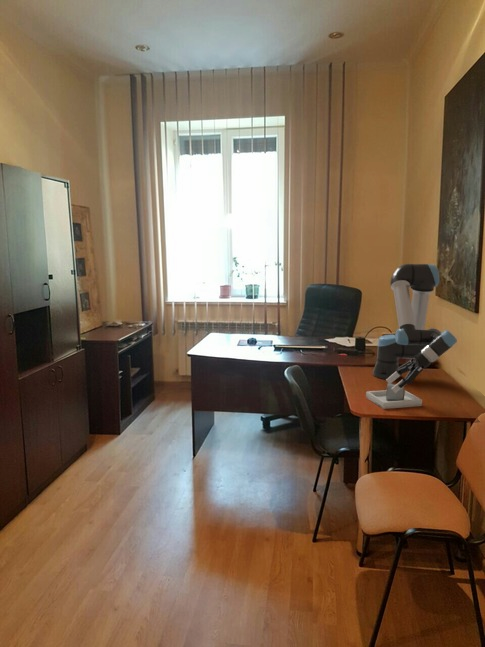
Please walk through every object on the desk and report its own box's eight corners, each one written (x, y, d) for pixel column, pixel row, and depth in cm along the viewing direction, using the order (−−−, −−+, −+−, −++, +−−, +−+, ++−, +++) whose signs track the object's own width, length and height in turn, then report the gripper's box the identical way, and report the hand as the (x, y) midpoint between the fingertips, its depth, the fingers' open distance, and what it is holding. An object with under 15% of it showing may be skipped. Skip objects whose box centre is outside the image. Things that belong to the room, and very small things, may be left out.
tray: (365, 397, 226) (366, 391, 226) (402, 394, 231) (402, 389, 230) (383, 408, 211) (383, 402, 210) (421, 405, 215) (422, 399, 215)
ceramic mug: (404, 403, 215) (405, 387, 214) (386, 401, 217) (387, 385, 216) (402, 396, 226) (403, 381, 224) (385, 394, 228) (386, 379, 226)
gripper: (439, 370, 203) (401, 400, 208) (424, 356, 227) (390, 384, 232) (427, 357, 203) (390, 389, 207) (413, 345, 227) (380, 373, 232)
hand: (390, 386), depth 220 cm, fingers open, 13 cm apart
